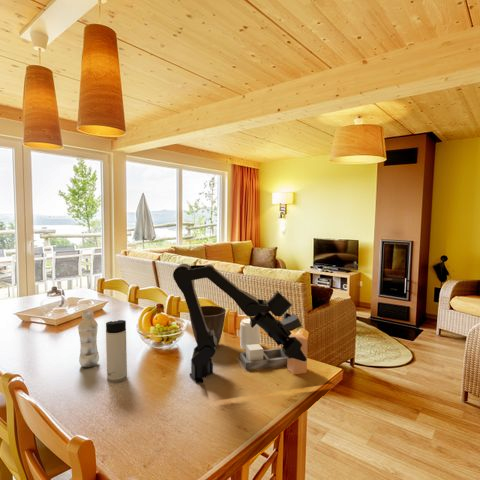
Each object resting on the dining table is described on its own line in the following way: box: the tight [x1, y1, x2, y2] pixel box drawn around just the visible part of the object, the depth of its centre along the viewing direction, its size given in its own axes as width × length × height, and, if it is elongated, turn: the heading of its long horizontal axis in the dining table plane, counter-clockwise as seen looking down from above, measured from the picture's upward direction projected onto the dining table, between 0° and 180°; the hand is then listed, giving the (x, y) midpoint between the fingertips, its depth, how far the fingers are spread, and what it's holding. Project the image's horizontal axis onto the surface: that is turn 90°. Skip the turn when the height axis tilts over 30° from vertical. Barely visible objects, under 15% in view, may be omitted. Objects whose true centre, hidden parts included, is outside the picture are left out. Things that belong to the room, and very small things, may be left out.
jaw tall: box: [287, 333, 308, 375], centre depth 115 cm, size 5×5×13 cm
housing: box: [236, 347, 288, 373], centre depth 122 cm, size 19×11×4 cm, turn 105°
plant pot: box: [188, 305, 227, 349], centre depth 136 cm, size 15×15×16 cm
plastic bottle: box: [77, 309, 100, 368], centre depth 120 cm, size 6×7×20 cm
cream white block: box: [245, 344, 264, 361], centre depth 121 cm, size 5×5×6 cm
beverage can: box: [239, 317, 261, 351], centre depth 136 cm, size 8×8×12 cm
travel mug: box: [105, 319, 128, 384], centre depth 110 cm, size 6×7×20 cm
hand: (300, 354), depth 115 cm, fingers open, 9 cm apart
